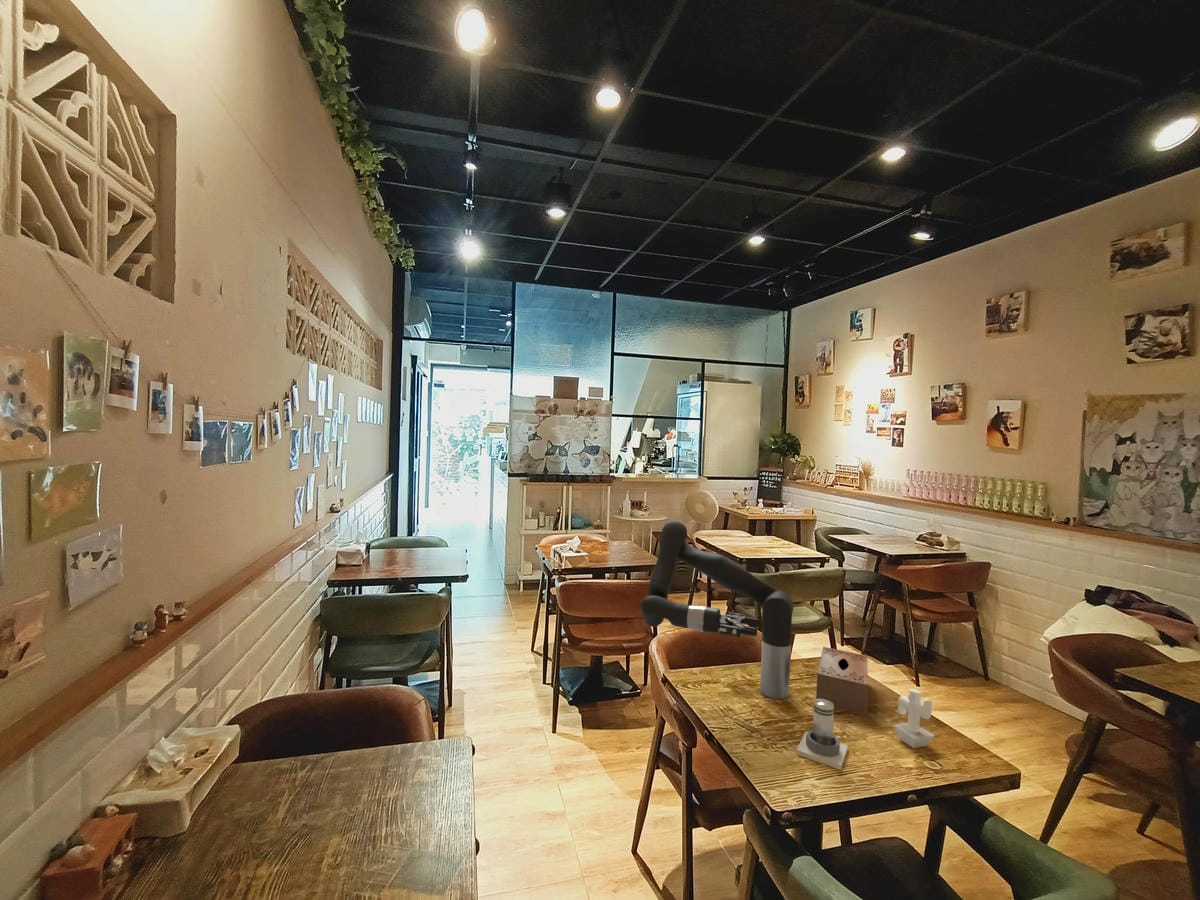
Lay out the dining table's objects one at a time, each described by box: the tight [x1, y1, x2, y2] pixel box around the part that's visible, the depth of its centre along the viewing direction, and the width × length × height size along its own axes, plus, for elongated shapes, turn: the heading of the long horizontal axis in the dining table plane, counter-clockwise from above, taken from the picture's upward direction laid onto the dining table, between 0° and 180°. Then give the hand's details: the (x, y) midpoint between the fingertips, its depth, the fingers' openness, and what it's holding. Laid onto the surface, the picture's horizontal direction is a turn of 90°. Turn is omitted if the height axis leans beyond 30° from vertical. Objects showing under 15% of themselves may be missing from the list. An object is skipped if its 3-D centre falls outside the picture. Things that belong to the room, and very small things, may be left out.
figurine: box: [892, 688, 935, 749], centre depth 146 cm, size 7×9×15 cm
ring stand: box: [795, 729, 849, 771], centre depth 140 cm, size 11×11×4 cm
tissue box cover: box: [815, 646, 868, 717], centre depth 174 cm, size 26×14×10 cm, turn 153°
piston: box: [812, 698, 835, 746], centre depth 140 cm, size 5×5×12 cm
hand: (758, 627), depth 154 cm, fingers open, 8 cm apart
